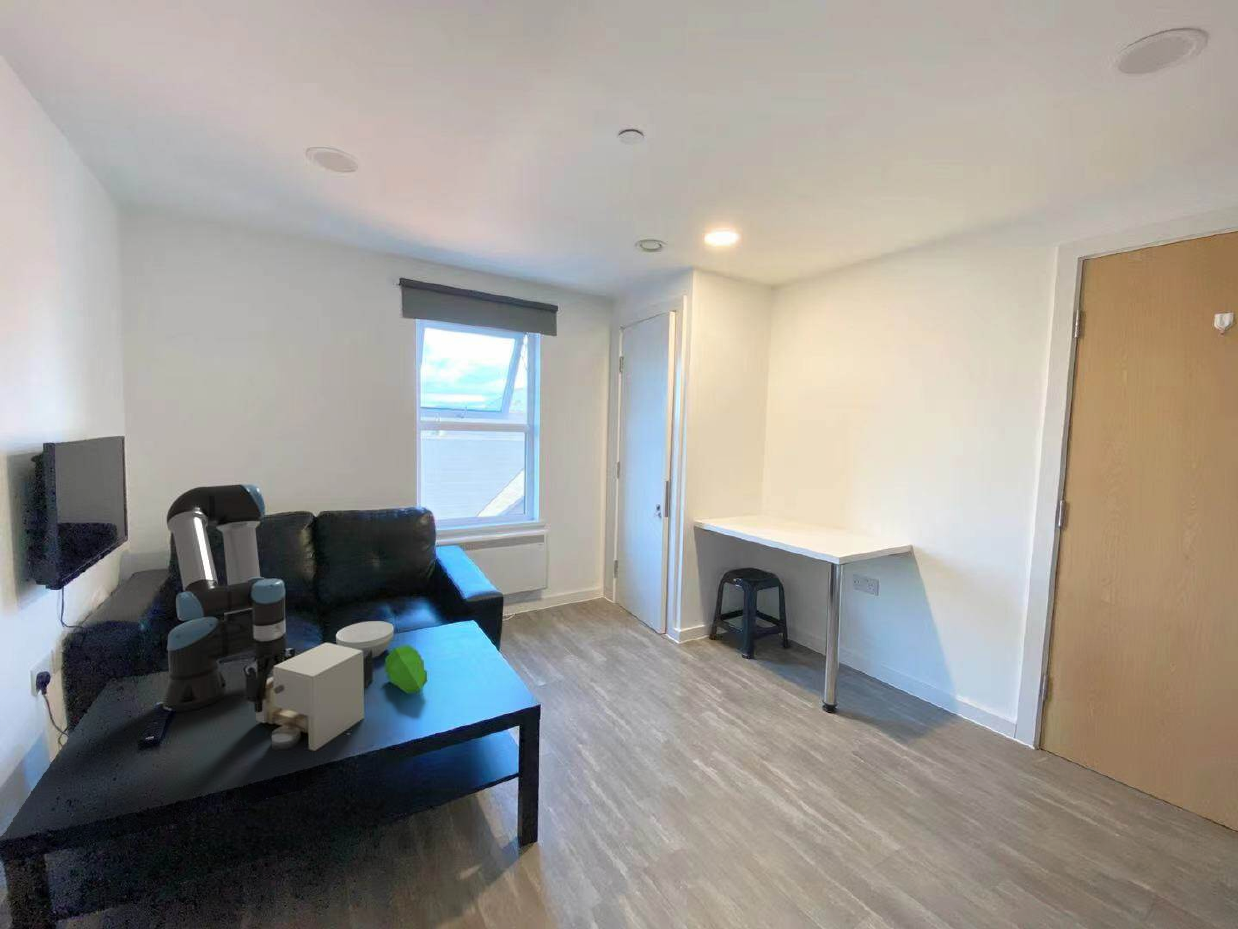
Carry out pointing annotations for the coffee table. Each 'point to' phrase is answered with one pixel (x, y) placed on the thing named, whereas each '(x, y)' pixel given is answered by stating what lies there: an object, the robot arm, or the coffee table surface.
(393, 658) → the decorative tree
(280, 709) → the tan l-shaped block
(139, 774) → the coffee table surface
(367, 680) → the small box
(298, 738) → the grey rounded puck
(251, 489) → the robot arm
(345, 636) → the bowl
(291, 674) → the cabinet
